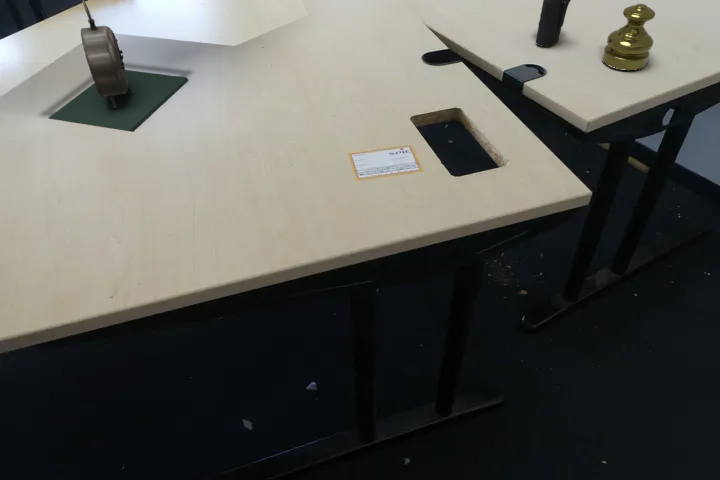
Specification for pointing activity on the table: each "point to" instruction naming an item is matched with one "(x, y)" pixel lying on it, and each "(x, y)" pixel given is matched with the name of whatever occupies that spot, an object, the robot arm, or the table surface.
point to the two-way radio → (551, 21)
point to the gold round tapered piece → (630, 40)
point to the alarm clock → (104, 59)
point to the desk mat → (122, 102)
